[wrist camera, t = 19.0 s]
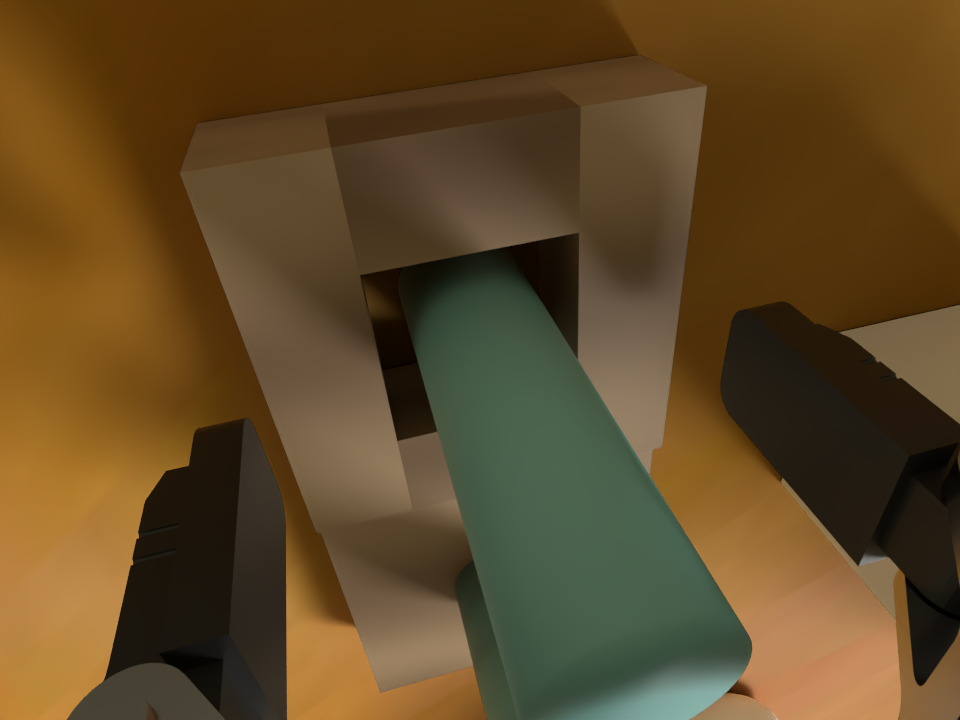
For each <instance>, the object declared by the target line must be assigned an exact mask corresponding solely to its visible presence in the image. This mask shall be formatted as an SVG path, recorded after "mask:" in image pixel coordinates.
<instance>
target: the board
mask: <svg viewBox="0 0 960 720" xmlns="http://www.w3.org/2000/svg"><path fill="white" fill-rule="evenodd" d="M652 452H653V450H649V451H645V452H641V453H637V456H638V458H639V459H640V461H641V463H642V464H643V466H644V467H645V469H646V471H647V472H648V474H649V475H650V469H651V460H652ZM321 535H322V537H323V540H324V543H325V545H326V548H327V551H328V553H329V556H330V559H331V561H332V564H333V567H334V569H335V572H336V575H337V578H338V580H339V583H340V586H341V588H342V591H343V594H344V596H345V599H346V602H347V604H348V607H349V610H350V612H351V615H352V618H353V620H354V623H355V626H356V628H357V631H358V634H359V637H360V639H361V642H362V645H363V647H364V650H365V653H366V655H367V658H368V661H369V663H370V666H371V669H372V671H373V674H374V677H375V679H376V682H377V685H378V687H379V690H380V693H382V692H385V691H389V690H392V689H395V688H399V687H402V686H406V685H409V684H413V683H416V682H420V681H423V680H427V679H430V678H434V677H437V676H440V675H444V674H447V673H451V672H454V671H458V670H461V669H465V668H468V667H472V666H474V670H475V674H476V678H477V682H478V687H479V691H480V695H481V699H482V703H483V707H484V711H485V715H486V719H487V720H518V717H517V713H516V710H515V706H514V702H513V699H512V695H511V692H510V688H509V685H508V681H507V678H506V674H505V670H504V667H503V663H502V660H501V656H500V653H499V649H498V645H497V642H496V638H495V635H494V631H493V628H492V624H491V621H490V617H489V613H488V610H487V606H486V603H485V599H484V596H483V592H482V588H481V585H480V581H479V578H478V574H477V571H476V567H475V563H474V560H473V556H472V553H471V549H470V546H469V542H468V539H467V535H466V531H465V528H464V524H463V521H462V517H461V514H460V510H459V506H458V503H457V499H453V500H449V501H445V502H441V503H437V504H433V505H429V506H425V507H421V508H417V509H413V510H409V511H405V512H401V513H397V514H393V515H389V516H385V517H381V518H377V519H373V520H369V521H365V522H361V523H357V524H353V525H349V526H345V527H341V528H337V529H333V530H329V531H325V532H321Z"/></svg>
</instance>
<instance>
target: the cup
mask: <svg viewBox="0 0 960 720" xmlns="http://www.w3.org/2000/svg"><path fill="white" fill-rule="evenodd" d="M689 720H778V718H777V717H776V716H775V714H774V713H773V712H772V711H771V710H770V709H769V708H768V707H766V706H765V705H764V704H762V703H761V702H759V701H757V700H755V699H753V698H751V697H748V696H744V695H740V694H735V693H725V694H724V695H723V696H722V697H720V698H719V699H718V700H717V701H715V702H714V703H713V704H712V705H710V706H709V707H708V708H706V709H705V710H703V711H702V712H700V713H699V714H697V715H696V716H694V717H692V718H691V719H689Z"/></svg>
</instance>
